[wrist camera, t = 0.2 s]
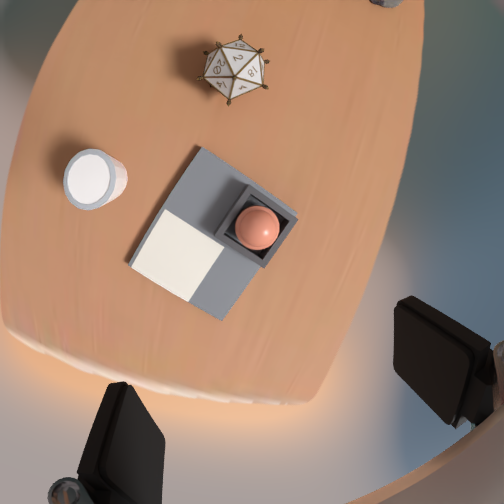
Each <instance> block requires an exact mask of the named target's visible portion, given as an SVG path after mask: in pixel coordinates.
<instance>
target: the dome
mask: <svg viewBox="0 0 504 504" xmlns="http://www.w3.org/2000/svg"><path fill="white" fill-rule="evenodd" d="M235 233H236V235H237V237H238V239H239V241H240V242H241V243H242V244H243V245H244V246H246V247H247V248H250V249H253V250H261V249H265V248H267V247H269V246H270V245H272V244H273V243H274V241H275V240H276V238H277V236H278V234H279V221H278V219H277V217H276V215H275V214H274V213H273V212H272V211H271V210H270V209H268V208H265V207H263V206H259V205H252V206H249V207H246V208H245V209H243V210H242V211H241V212H240V213H239V214H238V216H237V218H236V220H235Z"/></svg>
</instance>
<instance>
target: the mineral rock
mask: <svg viewBox="0 0 504 504" xmlns="http://www.w3.org/2000/svg"><path fill="white" fill-rule="evenodd" d="M371 1H372V3H374V4H377V5H381V6H383V7H386V8H392V7H396V6H398V5H399V4H400V3H402V1H403V0H371Z"/></svg>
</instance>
